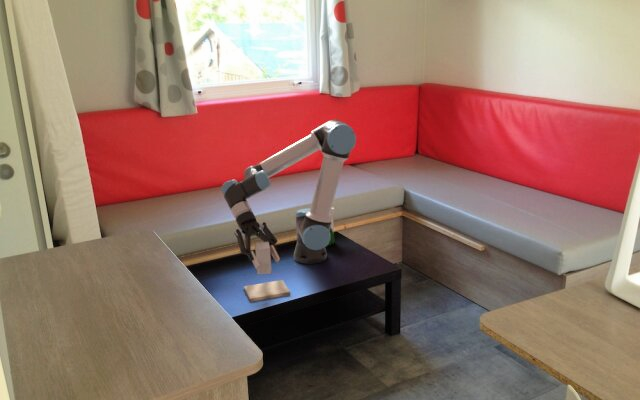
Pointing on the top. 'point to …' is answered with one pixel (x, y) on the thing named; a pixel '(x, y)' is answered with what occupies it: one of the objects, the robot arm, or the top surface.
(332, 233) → the milk carton
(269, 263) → the small box
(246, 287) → the birch board
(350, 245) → the top surface
